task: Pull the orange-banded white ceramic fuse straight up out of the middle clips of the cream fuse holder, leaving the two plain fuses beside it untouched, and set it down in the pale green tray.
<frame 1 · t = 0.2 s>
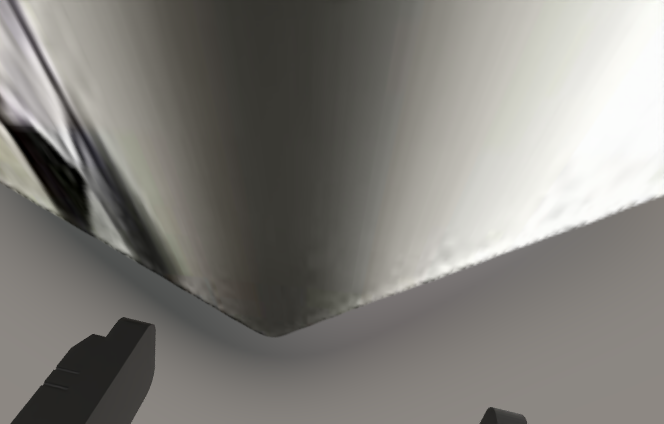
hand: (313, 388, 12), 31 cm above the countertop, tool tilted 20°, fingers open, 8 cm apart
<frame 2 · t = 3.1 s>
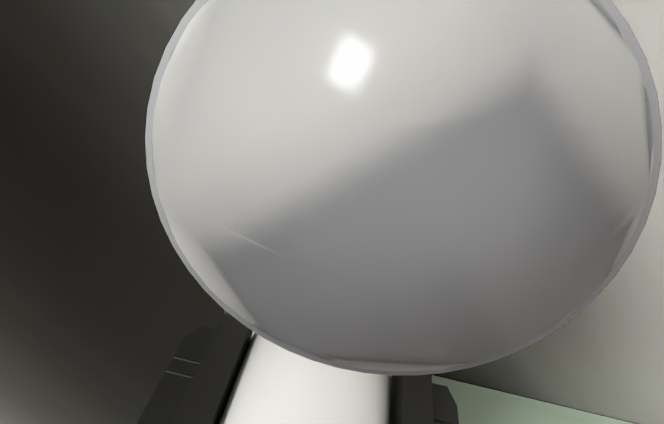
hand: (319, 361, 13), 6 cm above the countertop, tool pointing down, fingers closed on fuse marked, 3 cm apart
fuse c: (402, 7, 12), point 1 cm above the countertop, touching holder
fuse marked: (338, 269, 16), point 1 cm above the countertop, touching gripper, holder
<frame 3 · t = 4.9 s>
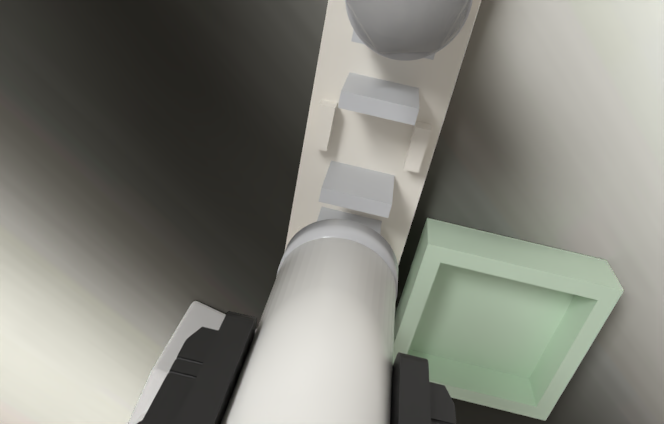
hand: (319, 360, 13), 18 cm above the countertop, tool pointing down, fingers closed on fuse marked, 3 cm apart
holder: (373, 123, 29), on the countertop
tray: (485, 307, 34), on the countertop
fuse marked: (340, 268, 17), point 14 cm above the countertop, touching gripper
medicine bottle: (224, 347, 39), on the countertop
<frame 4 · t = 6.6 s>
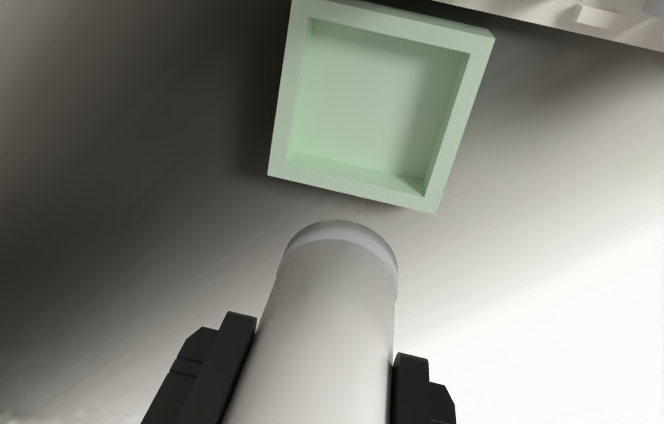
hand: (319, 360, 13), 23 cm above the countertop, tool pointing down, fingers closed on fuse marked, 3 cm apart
tray: (373, 98, 33), on the countertop
fuse marked: (339, 270, 17), point 19 cm above the countertop, touching gripper
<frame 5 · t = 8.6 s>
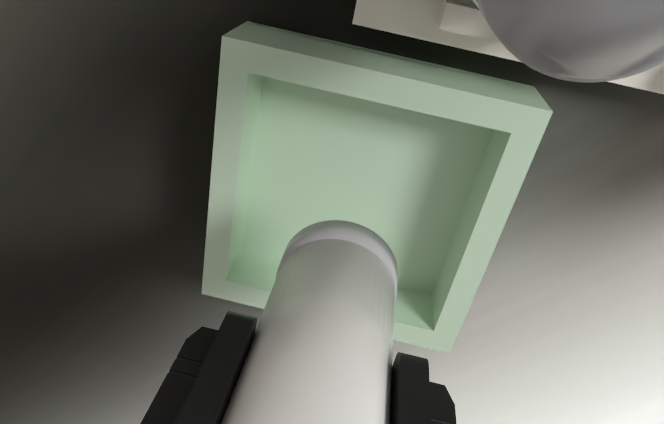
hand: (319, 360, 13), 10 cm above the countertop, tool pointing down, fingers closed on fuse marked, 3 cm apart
tray: (358, 181, 22), on the countertop
fuse marked: (339, 270, 16), point 6 cm above the countertop, touching gripper
when the fingers open (6 cm above the countertop, at t = 10.0 s): fuse marked stays where it is, resting on tray.
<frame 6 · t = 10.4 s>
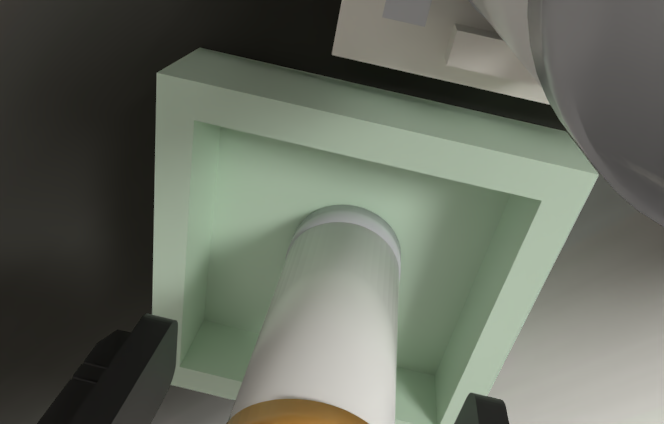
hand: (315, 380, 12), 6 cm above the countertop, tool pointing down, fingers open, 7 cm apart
tray: (344, 242, 18), on the countertop
fuse marked: (345, 253, 17), point 1 cm above the countertop, touching tray
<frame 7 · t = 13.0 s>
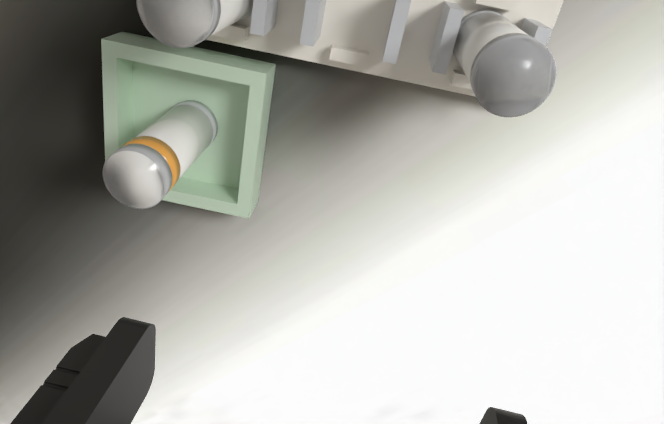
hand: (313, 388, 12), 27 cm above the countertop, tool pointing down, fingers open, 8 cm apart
fuse c: (481, 40, 33), point 1 cm above the countertop, touching holder
holder: (358, 11, 34), on the countertop
tray: (194, 121, 39), on the countertop
fuse marked: (193, 124, 38), point 1 cm above the countertop, touching tray
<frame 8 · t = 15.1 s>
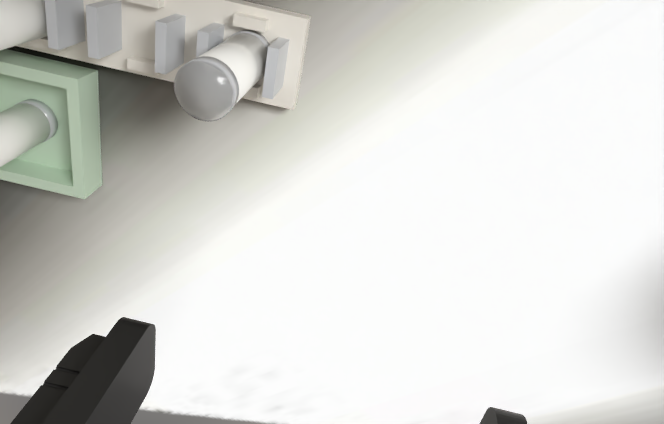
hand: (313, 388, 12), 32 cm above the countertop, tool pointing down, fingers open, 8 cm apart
fuse c: (249, 54, 39), point 1 cm above the countertop, touching holder
holder: (156, 28, 41), on the countertop
tray: (40, 116, 46), on the countertop
fuse marked: (37, 119, 46), point 1 cm above the countertop, touching tray
fuse a: (47, 8, 40), point 1 cm above the countertop, touching holder
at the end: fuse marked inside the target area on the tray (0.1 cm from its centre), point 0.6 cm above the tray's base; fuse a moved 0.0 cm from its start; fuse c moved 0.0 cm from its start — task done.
